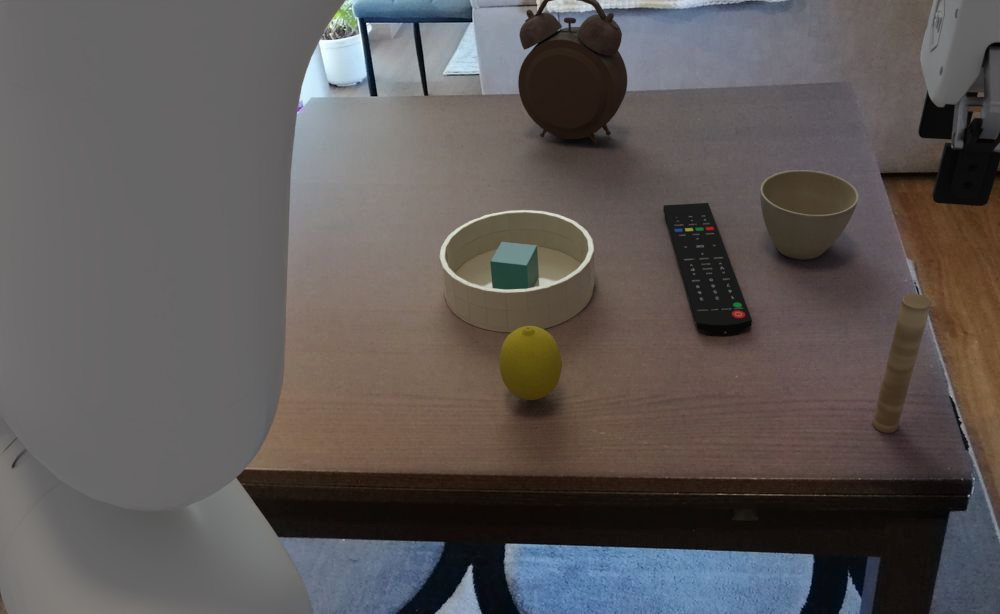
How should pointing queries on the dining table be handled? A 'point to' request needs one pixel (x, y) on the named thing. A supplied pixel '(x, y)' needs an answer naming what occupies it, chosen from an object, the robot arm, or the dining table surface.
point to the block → (514, 266)
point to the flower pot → (806, 211)
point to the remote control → (706, 270)
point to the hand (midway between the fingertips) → (949, 167)
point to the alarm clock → (572, 73)
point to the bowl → (501, 310)
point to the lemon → (530, 363)
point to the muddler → (901, 361)
